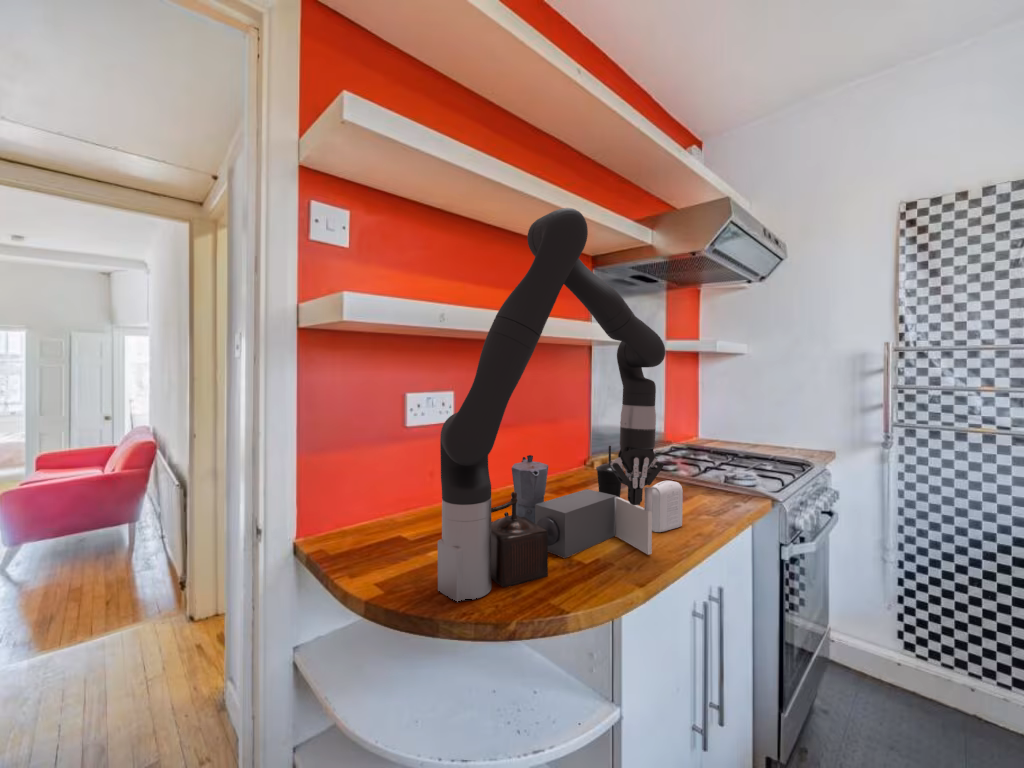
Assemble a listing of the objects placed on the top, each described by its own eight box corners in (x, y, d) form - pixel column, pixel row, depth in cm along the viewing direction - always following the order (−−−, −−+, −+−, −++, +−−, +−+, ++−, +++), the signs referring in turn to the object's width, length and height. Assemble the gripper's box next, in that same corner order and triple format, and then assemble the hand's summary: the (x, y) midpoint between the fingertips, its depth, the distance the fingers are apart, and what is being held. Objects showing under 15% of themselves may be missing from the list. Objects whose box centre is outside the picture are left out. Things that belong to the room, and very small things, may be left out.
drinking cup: (621, 511, 130) (621, 443, 129) (625, 520, 122) (625, 448, 122) (594, 511, 130) (595, 443, 130) (597, 519, 123) (597, 447, 122)
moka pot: (519, 544, 105) (519, 460, 104) (503, 523, 119) (503, 450, 119) (556, 540, 107) (557, 458, 107) (536, 520, 122) (536, 448, 122)
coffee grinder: (522, 556, 98) (522, 475, 98) (549, 576, 88) (549, 487, 88) (456, 571, 91) (456, 484, 90) (478, 595, 81) (477, 497, 80)
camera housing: (561, 560, 96) (561, 514, 96) (531, 548, 102) (531, 505, 102) (616, 535, 111) (616, 495, 110) (586, 526, 117) (587, 489, 117)
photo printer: (671, 522, 121) (671, 477, 120) (684, 526, 117) (685, 480, 117) (645, 529, 115) (646, 482, 115) (659, 534, 111) (660, 485, 111)
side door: (653, 553, 98) (654, 488, 98) (647, 554, 98) (648, 489, 97) (619, 534, 110) (619, 476, 110) (613, 534, 110) (614, 476, 109)
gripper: (619, 427, 92) (616, 510, 92) (674, 428, 96) (671, 507, 96) (602, 424, 99) (599, 500, 99) (653, 424, 103) (651, 498, 103)
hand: (634, 504), depth 98 cm, fingers closed
